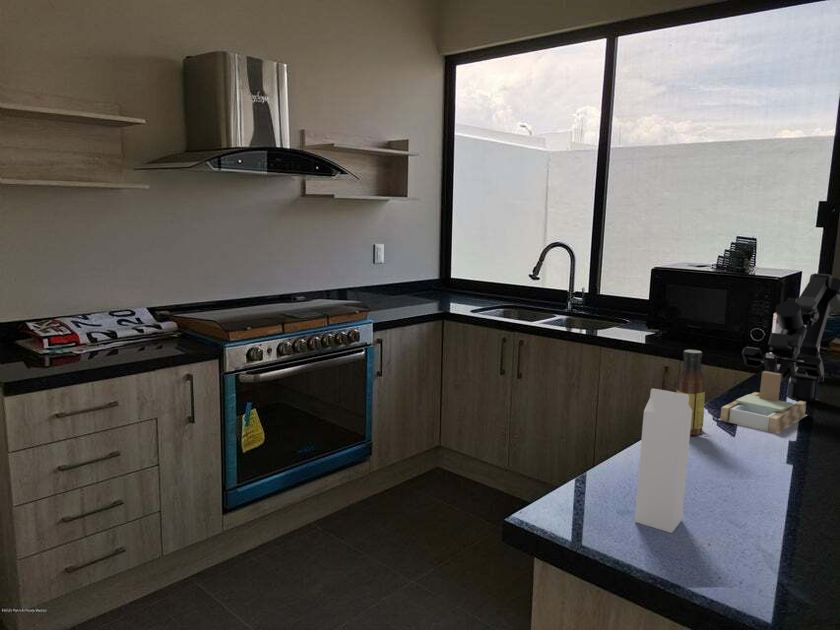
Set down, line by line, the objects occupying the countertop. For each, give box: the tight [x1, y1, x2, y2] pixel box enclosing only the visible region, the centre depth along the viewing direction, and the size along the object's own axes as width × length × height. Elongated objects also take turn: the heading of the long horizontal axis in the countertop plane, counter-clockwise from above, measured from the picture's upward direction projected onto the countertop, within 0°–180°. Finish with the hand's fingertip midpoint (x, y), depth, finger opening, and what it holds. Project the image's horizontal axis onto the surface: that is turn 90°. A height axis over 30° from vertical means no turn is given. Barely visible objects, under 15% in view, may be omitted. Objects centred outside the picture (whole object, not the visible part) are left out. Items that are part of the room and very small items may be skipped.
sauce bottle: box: [676, 349, 706, 436], centre depth 150 cm, size 6×6×20 cm
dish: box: [729, 404, 780, 430], centre depth 159 cm, size 9×9×3 cm
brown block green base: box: [734, 370, 794, 412], centre depth 162 cm, size 9×11×8 cm
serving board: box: [717, 391, 808, 435], centre depth 164 cm, size 24×14×4 cm, turn 134°
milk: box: [634, 388, 692, 534], centre depth 103 cm, size 6×6×22 cm
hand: (771, 386), depth 166 cm, fingers closed, pressing on brown block green base
